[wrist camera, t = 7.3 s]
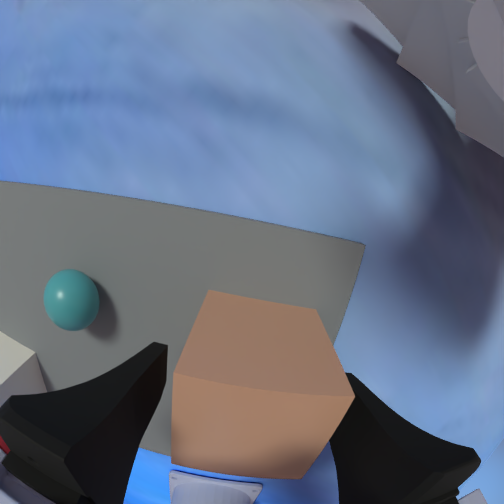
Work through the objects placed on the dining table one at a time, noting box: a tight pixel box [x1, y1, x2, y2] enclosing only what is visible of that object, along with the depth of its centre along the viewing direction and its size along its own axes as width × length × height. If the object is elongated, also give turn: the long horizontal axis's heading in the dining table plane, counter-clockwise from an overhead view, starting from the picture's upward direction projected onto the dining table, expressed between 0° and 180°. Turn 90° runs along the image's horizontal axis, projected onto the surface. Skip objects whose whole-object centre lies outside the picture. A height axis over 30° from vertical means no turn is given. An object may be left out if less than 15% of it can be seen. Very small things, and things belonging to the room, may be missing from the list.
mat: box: [0, 181, 366, 456], centre depth 13 cm, size 18×25×1 cm
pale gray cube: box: [0, 331, 47, 407], centre depth 11 cm, size 5×5×6 cm
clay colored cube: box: [171, 290, 355, 479], centre depth 10 cm, size 5×5×6 cm
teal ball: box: [44, 269, 100, 331], centre depth 11 cm, size 3×3×3 cm
